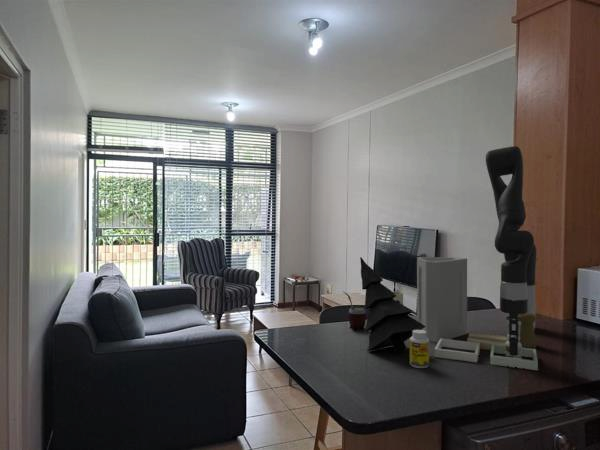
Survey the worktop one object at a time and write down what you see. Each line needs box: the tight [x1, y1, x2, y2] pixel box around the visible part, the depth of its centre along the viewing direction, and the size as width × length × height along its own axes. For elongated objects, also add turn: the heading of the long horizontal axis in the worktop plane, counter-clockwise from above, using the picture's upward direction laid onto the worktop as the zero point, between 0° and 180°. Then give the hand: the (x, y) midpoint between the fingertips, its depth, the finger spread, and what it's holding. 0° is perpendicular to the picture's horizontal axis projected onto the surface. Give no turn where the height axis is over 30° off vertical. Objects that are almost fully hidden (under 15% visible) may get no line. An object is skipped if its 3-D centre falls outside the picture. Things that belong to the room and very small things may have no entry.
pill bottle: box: [505, 333, 523, 359], centre depth 131 cm, size 4×4×8 cm
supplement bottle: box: [409, 330, 430, 369], centre depth 128 cm, size 6×6×10 cm
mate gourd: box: [343, 291, 367, 332], centre depth 169 cm, size 8×8×15 cm
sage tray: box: [489, 344, 539, 371], centre depth 131 cm, size 12×12×2 cm
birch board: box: [466, 332, 508, 351], centre depth 147 cm, size 12×12×2 cm
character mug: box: [391, 290, 404, 305], centre depth 174 cm, size 11×7×13 cm, turn 131°
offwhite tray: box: [434, 338, 481, 363], centre depth 138 cm, size 12×12×2 cm
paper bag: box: [416, 256, 468, 344], centre depth 161 cm, size 19×15×28 cm
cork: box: [518, 312, 537, 349], centre depth 146 cm, size 6×6×11 cm
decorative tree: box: [359, 257, 426, 355], centre depth 146 cm, size 15×15×35 cm
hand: (513, 352), depth 131 cm, fingers closed on pill bottle, 4 cm apart
